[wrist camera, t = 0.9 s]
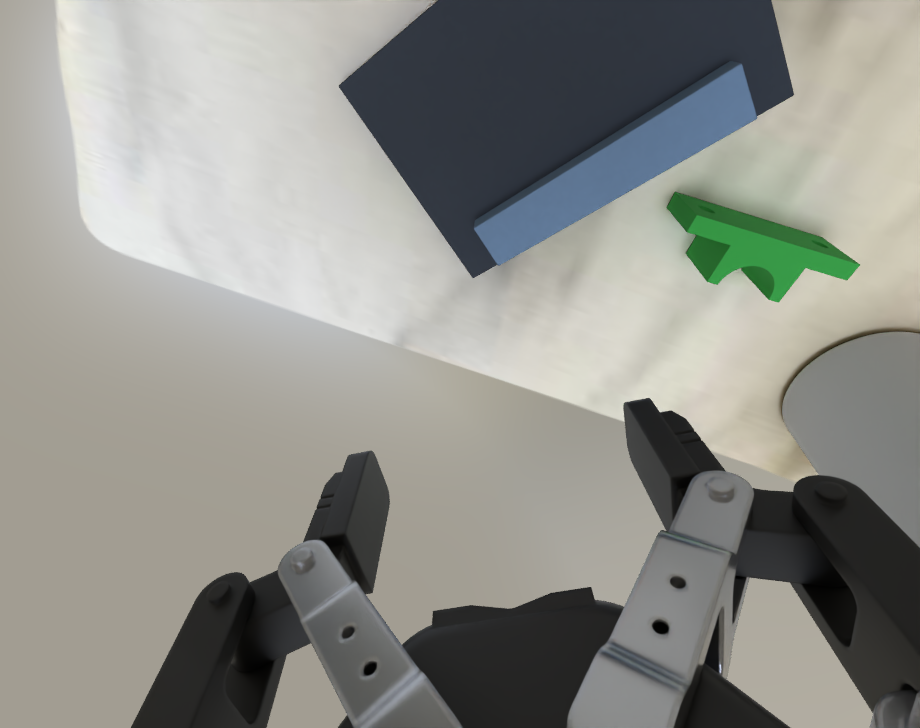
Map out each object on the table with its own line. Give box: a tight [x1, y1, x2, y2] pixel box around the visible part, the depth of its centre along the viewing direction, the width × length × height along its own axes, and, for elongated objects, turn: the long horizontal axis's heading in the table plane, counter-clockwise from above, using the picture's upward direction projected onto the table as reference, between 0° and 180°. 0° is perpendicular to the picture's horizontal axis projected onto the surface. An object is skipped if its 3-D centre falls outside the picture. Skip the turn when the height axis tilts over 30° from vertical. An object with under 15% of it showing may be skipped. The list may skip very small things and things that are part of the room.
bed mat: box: [339, 0, 794, 278], centre depth 28 cm, size 15×22×3 cm
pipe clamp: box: [667, 192, 860, 302], centre depth 32 cm, size 11×4×5 cm, turn 75°
